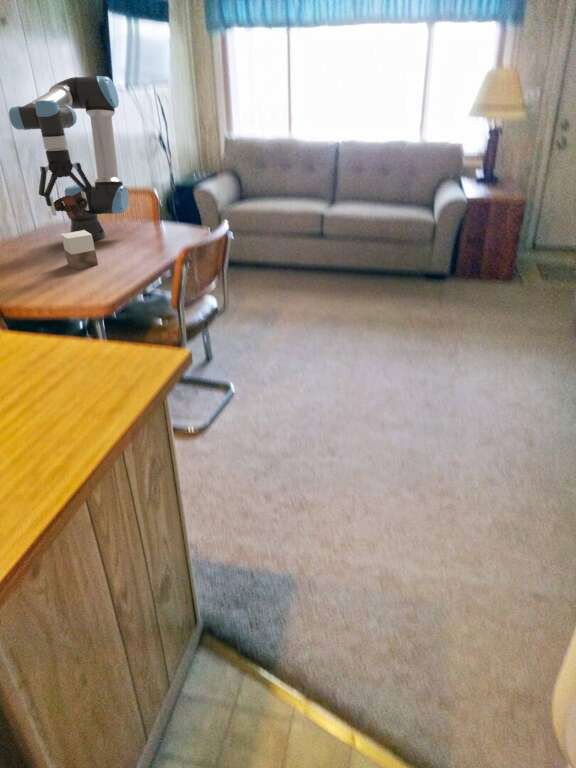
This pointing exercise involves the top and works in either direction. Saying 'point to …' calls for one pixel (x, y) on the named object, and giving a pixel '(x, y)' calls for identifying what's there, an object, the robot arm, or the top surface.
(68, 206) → the pottery mug
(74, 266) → the tower base block
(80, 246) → the tower top block
